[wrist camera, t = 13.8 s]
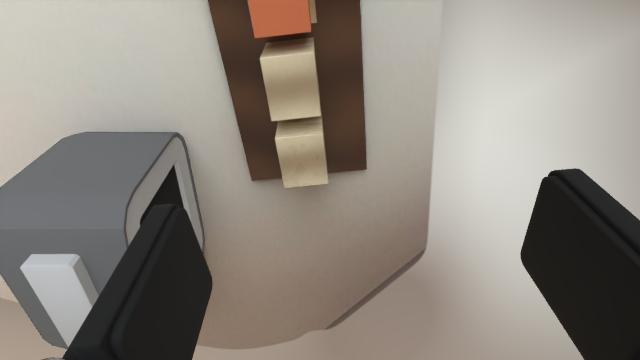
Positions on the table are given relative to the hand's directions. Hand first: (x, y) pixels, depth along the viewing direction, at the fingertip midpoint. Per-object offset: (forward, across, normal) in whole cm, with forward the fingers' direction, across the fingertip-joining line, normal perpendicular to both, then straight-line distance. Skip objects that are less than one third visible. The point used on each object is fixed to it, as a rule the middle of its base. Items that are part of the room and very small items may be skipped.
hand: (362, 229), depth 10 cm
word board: (+26, +3, +3) cm, 26 cm away
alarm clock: (+25, +21, +14) cm, 36 cm away
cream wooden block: (+24, +3, +3) cm, 25 cm away
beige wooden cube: (+24, +3, +9) cm, 26 cm away
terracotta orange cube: (+24, +3, -4) cm, 25 cm away
